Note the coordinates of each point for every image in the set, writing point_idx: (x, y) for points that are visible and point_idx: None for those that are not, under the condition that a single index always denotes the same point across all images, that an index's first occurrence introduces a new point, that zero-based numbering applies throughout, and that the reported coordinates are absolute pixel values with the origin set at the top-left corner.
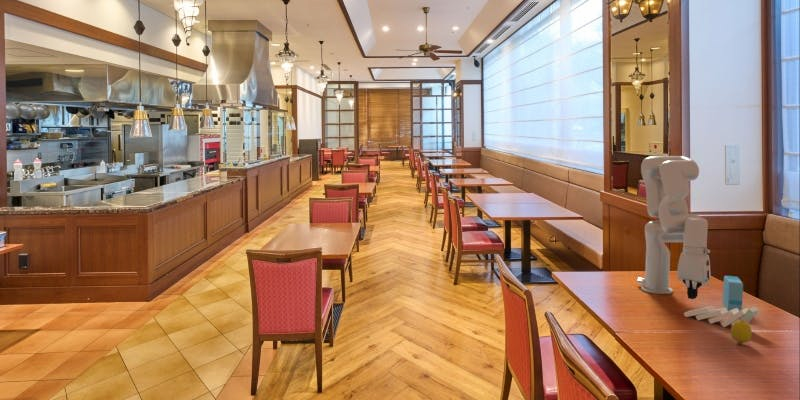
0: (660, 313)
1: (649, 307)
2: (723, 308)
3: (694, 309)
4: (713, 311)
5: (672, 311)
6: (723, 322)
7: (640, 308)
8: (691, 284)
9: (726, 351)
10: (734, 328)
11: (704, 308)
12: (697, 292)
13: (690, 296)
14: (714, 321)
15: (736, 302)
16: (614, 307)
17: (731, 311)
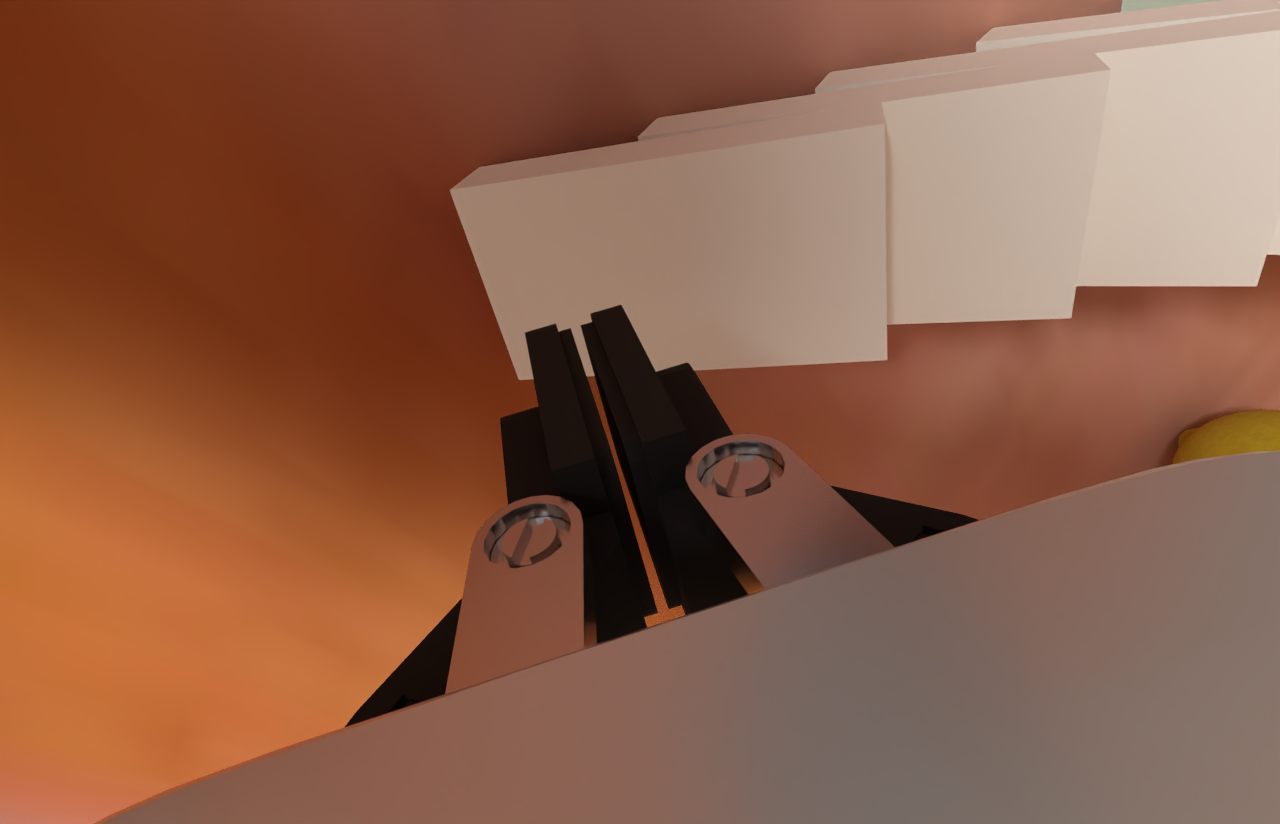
0: (328, 522)
1: (35, 500)
2: (1093, 169)
3: (533, 193)
4: (963, 321)
5: (282, 333)
6: None
7: (78, 616)
8: (590, 595)
9: None
10: None
11: (812, 317)
12: (712, 404)
13: (628, 488)
14: None
15: None
16: (13, 811)
17: (1252, 277)
